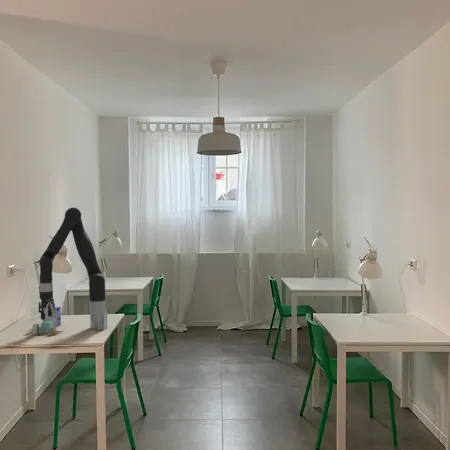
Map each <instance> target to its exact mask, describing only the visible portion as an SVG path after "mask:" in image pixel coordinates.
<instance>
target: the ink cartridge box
mask: <svg viewBox="0 0 450 450" xmlns="http://www.w3.org/2000/svg"><path fill="white" fill-rule="evenodd" d="M61 315H62V311H61V306H56V303H55V302H54V308H53V309H52V316H51V317H49V316H48V309H47V310H46V311H45V319H44V320H42V322H44V321H54V327H56V328H57V327H60V326H61V325H62V316H61Z"/></svg>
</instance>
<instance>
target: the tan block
mask: <svg viewBox="0 0 450 450" xmlns="http://www.w3.org/2000/svg"><path fill="white" fill-rule="evenodd" d="M57 331H58V330H57V327H51V328H50V335H56V334H57Z"/></svg>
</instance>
